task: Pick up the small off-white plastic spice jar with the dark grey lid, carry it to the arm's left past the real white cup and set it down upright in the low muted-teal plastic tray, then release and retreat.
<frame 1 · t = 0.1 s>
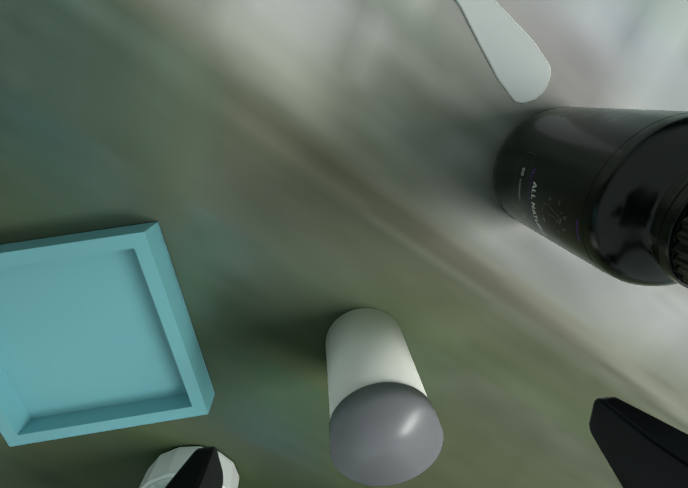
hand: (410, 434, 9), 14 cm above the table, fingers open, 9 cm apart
white cup: (195, 474, 28), on the table
tray: (88, 331, 23), on the table
spice jar: (363, 341, 25), on the table
supplement bottle: (543, 168, 22), on the table
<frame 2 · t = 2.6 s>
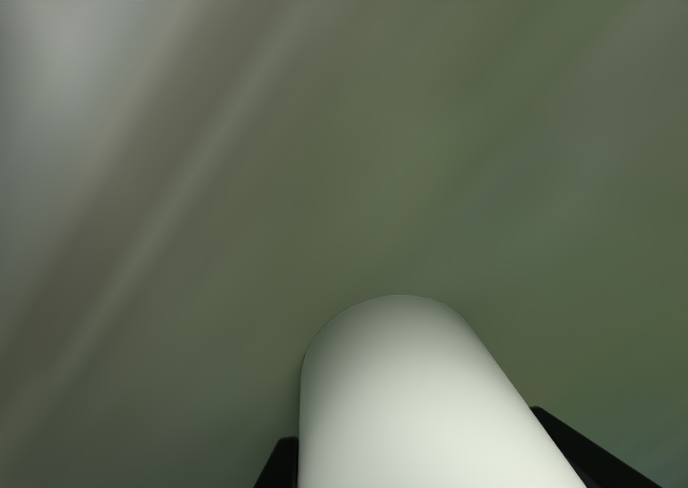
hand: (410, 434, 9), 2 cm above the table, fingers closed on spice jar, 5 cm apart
spice jar: (392, 375, 11), on the table, touching gripper
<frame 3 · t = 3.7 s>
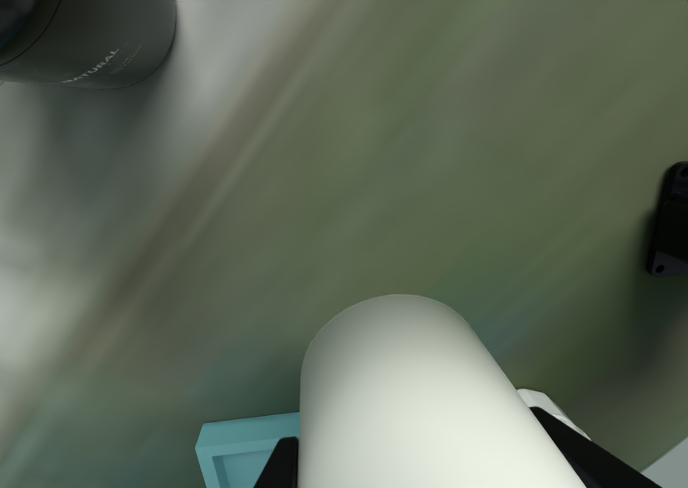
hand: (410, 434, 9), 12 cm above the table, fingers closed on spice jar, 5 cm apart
white cup: (508, 423, 26), on the table
tray: (313, 480, 26), on the table
spice jar: (392, 374, 11), point 10 cm above the table, touching gripper
supplement bottle: (97, 0, 15), on the table
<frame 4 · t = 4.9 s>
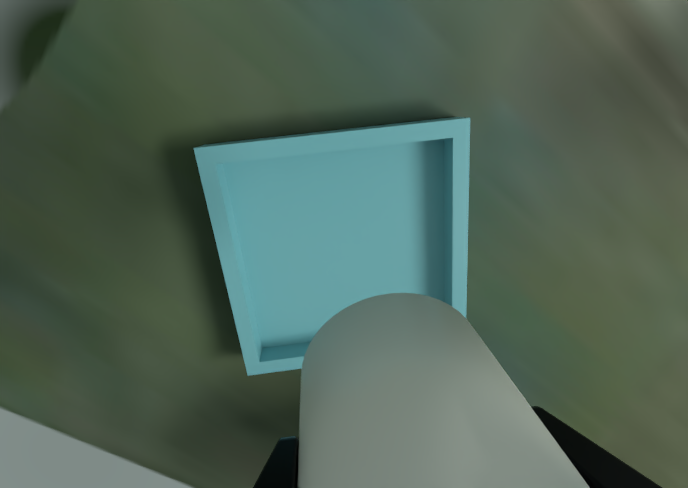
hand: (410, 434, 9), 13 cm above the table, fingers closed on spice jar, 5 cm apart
tray: (344, 247, 21), on the table
spice jar: (392, 373, 10), point 11 cm above the table, touching gripper
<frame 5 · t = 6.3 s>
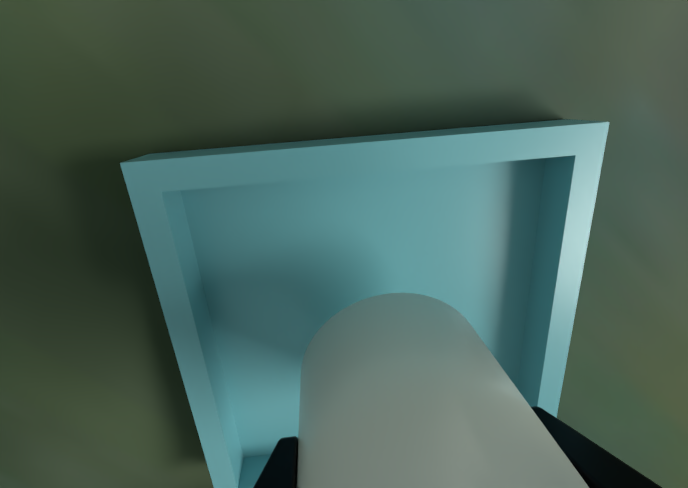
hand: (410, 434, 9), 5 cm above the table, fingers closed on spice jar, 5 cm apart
tray: (373, 316, 13), on the table
spice jar: (392, 373, 10), point 3 cm above the table, touching gripper
when the fingers open (3 cm above the table, at t = 7.5 s): spice jar stays where it is, resting on tray.
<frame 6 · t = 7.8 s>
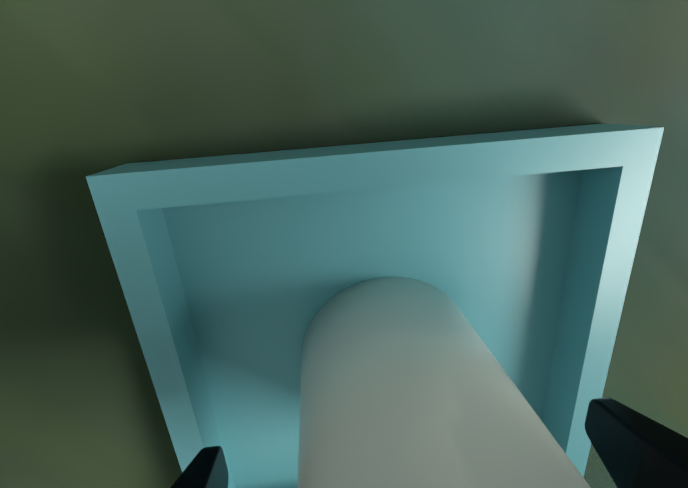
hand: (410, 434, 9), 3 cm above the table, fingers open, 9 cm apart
tray: (382, 343, 12), on the table
spice jar: (386, 352, 11), point 1 cm above the table, touching tray
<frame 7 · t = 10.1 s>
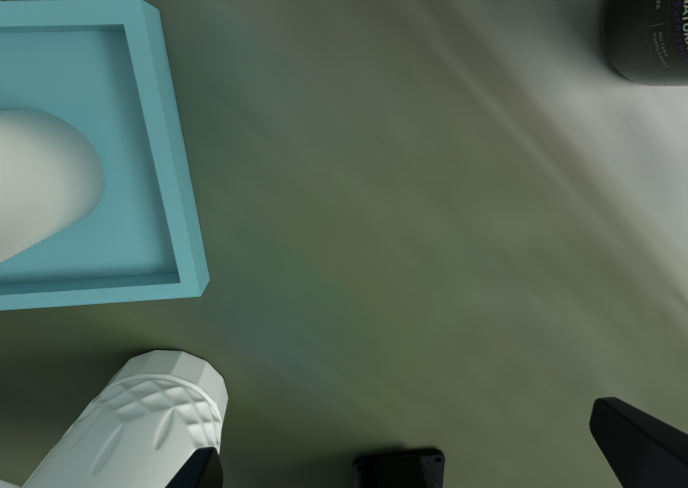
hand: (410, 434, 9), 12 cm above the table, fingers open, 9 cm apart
white cup: (173, 390, 23), on the table
tray: (49, 168, 17), on the table
spice jar: (42, 170, 17), point 1 cm above the table, touching tray
supplement bottle: (662, 9, 17), on the table
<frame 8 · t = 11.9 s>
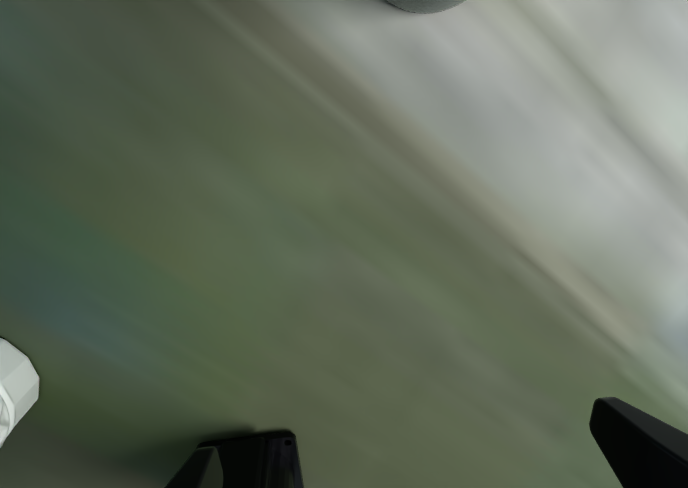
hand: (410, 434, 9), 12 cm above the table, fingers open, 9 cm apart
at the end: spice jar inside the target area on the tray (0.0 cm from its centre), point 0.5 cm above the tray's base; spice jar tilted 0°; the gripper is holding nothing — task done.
